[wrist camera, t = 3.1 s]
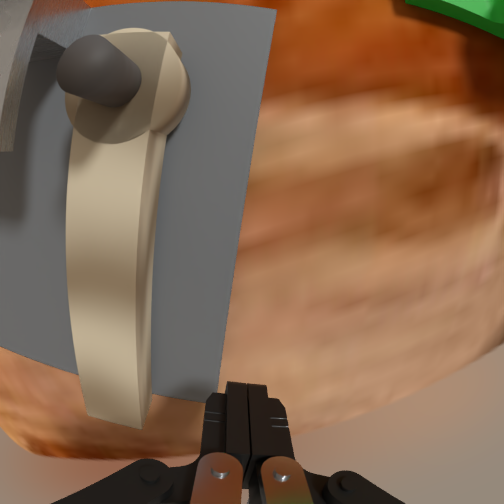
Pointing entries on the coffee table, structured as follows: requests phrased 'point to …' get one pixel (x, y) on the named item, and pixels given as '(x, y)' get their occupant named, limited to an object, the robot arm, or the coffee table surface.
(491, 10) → the mechanical part
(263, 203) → the coffee table surface
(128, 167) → the latch bar
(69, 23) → the keeper
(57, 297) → the base plate
